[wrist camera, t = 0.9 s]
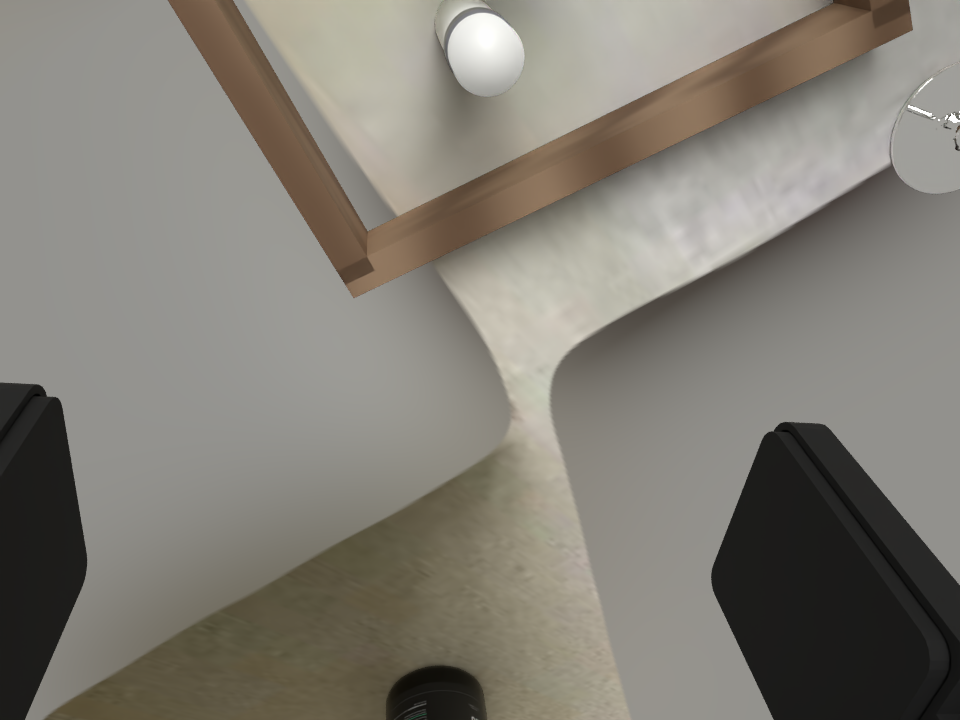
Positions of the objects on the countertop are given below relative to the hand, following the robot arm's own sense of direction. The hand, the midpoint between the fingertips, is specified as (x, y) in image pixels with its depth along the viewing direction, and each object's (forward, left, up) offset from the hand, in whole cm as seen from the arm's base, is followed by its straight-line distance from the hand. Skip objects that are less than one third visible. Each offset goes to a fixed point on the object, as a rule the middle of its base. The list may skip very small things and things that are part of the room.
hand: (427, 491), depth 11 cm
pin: (-4, -1, -27) cm, 27 cm away
